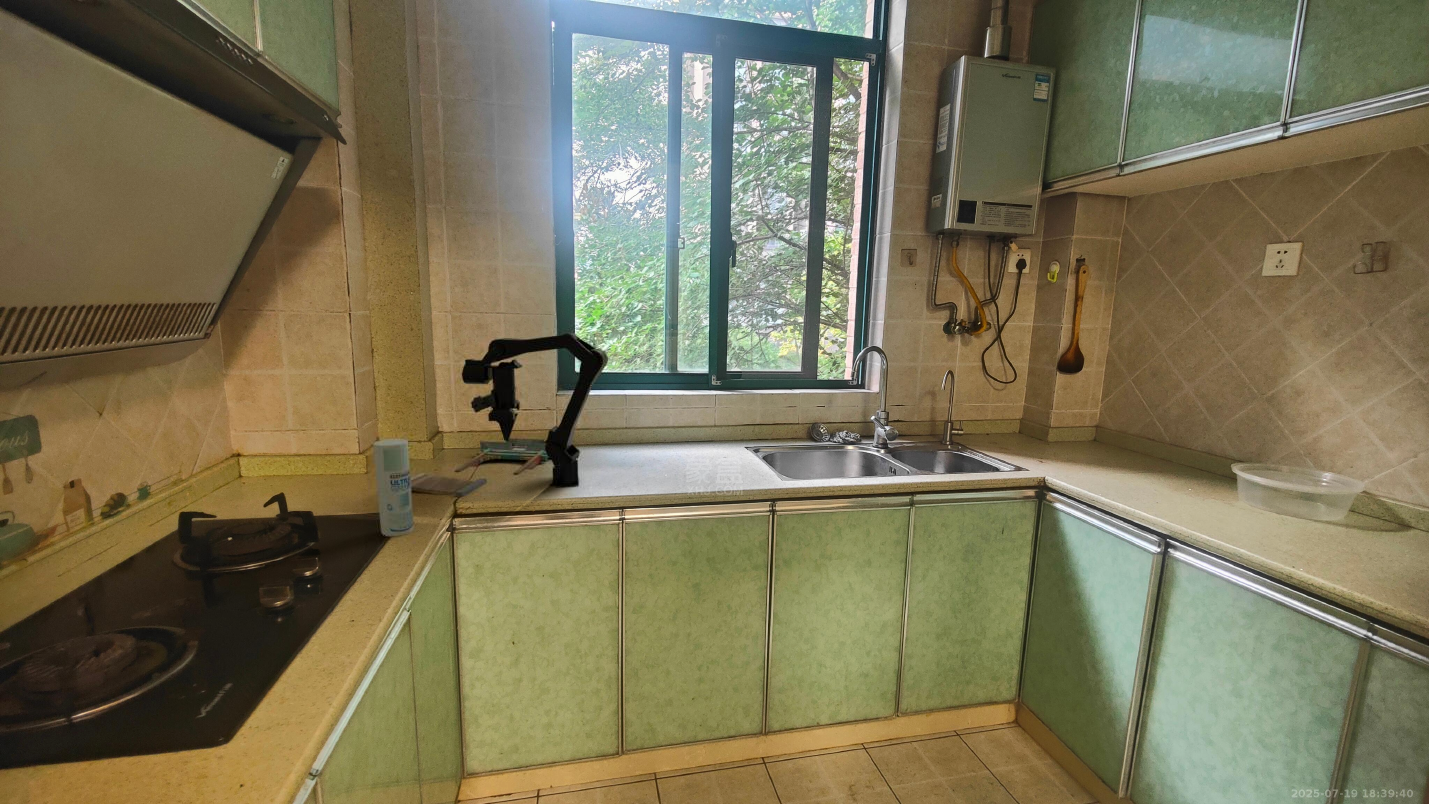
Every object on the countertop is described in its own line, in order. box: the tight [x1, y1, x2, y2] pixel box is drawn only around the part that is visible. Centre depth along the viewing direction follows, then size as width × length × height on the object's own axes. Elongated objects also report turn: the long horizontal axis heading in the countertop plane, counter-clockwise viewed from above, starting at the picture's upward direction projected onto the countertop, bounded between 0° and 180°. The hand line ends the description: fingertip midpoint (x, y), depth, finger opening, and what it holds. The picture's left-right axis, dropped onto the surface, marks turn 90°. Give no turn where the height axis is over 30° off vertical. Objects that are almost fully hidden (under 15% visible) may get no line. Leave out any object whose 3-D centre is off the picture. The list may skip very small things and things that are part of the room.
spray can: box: [372, 438, 414, 537], centre depth 126 cm, size 6×6×20 cm
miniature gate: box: [454, 437, 550, 475], centre depth 183 cm, size 27×6×30 cm
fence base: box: [454, 478, 488, 498], centre depth 154 cm, size 2×12×2 cm, turn 173°
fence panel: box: [410, 472, 474, 496], centre depth 155 cm, size 1×10×15 cm
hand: (506, 440), depth 162 cm, fingers closed
